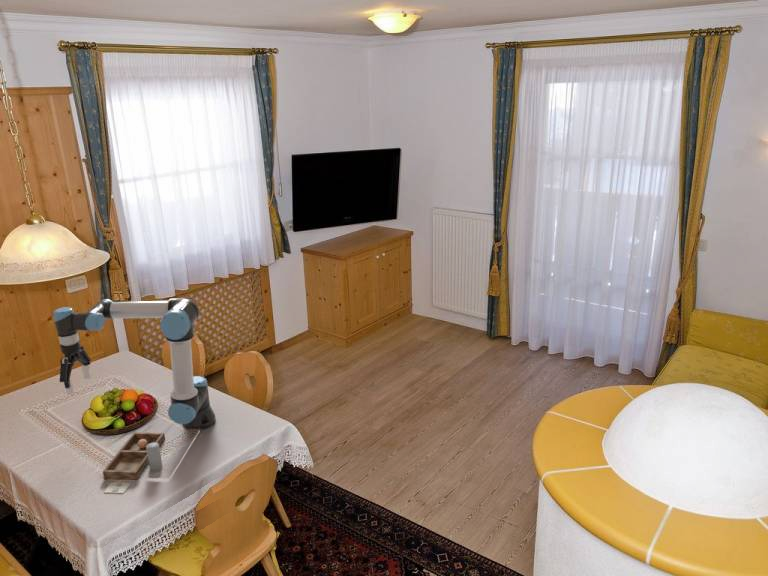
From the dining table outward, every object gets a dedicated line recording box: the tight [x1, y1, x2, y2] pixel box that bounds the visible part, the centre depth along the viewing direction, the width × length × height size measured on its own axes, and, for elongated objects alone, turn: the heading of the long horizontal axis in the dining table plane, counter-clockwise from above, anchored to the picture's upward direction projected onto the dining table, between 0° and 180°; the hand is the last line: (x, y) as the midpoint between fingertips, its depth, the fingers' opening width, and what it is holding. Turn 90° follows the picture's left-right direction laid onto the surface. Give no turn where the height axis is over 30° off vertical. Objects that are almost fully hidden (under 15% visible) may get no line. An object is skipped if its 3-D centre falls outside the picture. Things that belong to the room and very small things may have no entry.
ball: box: [138, 439, 147, 448], centre depth 258 cm, size 4×4×4 cm
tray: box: [102, 432, 166, 482], centre depth 252 cm, size 14×28×4 cm, turn 177°
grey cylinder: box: [146, 442, 163, 473], centre depth 243 cm, size 5×5×12 cm
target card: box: [103, 481, 131, 495], centre depth 234 cm, size 8×6×1 cm
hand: (79, 385), depth 259 cm, fingers open, 13 cm apart
